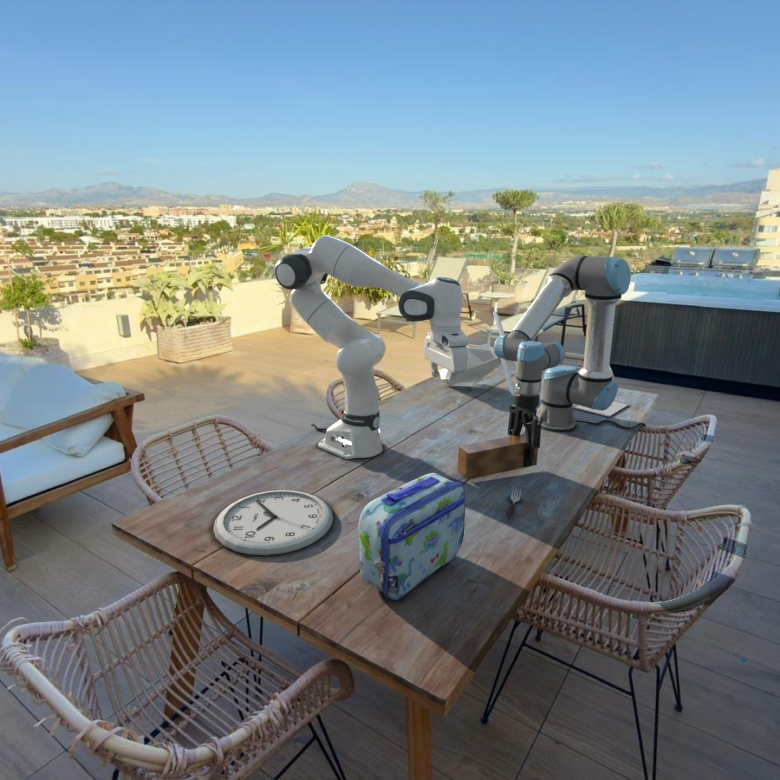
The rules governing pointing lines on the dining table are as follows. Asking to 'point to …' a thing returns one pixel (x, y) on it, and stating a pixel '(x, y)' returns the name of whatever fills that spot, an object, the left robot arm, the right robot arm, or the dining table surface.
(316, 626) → the dining table surface
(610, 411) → the invitation card
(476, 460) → the bar
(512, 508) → the fork
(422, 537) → the lunch box
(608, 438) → the dining table surface
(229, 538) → the wall clock
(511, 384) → the white plastic object
